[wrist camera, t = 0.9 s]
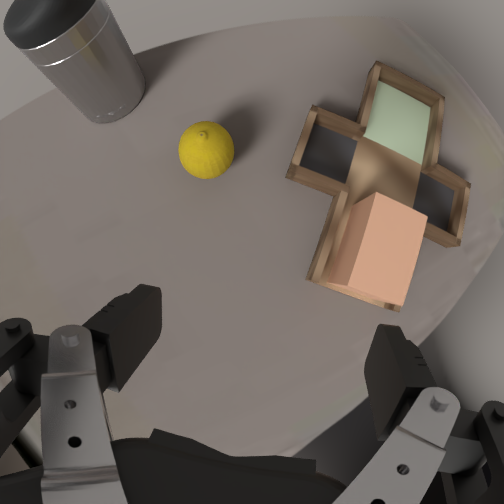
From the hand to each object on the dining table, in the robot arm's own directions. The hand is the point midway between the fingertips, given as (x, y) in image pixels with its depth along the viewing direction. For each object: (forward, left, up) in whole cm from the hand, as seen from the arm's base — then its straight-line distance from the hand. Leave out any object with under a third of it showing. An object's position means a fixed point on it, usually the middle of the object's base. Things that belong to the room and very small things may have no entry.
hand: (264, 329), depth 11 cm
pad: (-15, +24, -23) cm, 36 cm away
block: (0, +13, -23) cm, 26 cm away
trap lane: (-7, +18, -23) cm, 30 cm away
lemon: (-14, -1, -23) cm, 27 cm away
